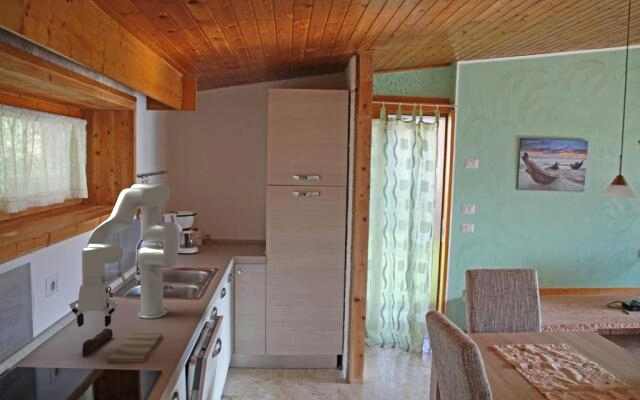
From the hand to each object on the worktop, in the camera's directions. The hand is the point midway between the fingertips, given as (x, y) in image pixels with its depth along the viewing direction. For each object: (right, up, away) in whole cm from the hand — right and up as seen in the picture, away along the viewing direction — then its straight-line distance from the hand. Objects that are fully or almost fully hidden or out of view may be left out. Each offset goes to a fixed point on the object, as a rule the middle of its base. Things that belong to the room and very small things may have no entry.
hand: (94, 325), depth 177 cm
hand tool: (+1, -9, +1) cm, 9 cm away
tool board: (+16, -8, -1) cm, 18 cm away
